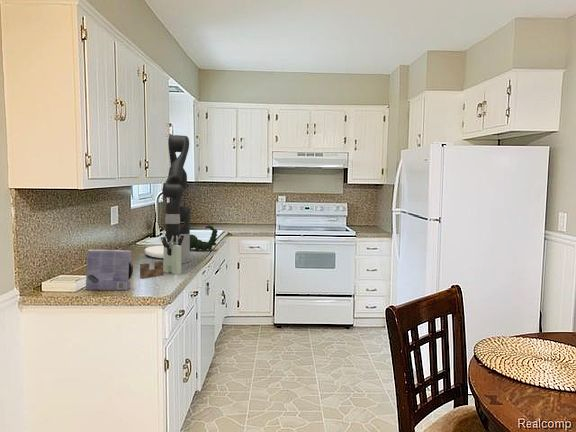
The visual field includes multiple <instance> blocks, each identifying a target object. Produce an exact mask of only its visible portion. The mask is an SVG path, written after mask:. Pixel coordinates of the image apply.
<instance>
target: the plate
mask: <svg viewBox="0 0 576 432" xmlns="http://www.w3.org/2000/svg"><path fill="white" fill-rule="evenodd" d="M144 253H145V255H147V256H149V257H152V258H157V259H163V254H164V246H163V245H154V246H148V247H146V248H145V249H144Z"/></svg>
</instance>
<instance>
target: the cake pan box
mask: <svg viewBox="0 0 576 432" xmlns="http://www.w3.org/2000/svg"><path fill="white" fill-rule="evenodd" d="M86 251H87V254H86V257H87V258H86V274H85V275H86V278H85V279H86V280H85V289H86V291H129V290H130V289H131V278H132V276H133V272H134V266H133V262H132V250H123V249H122V250H116V249H88V250H86ZM129 288H130V289H129Z"/></svg>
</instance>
